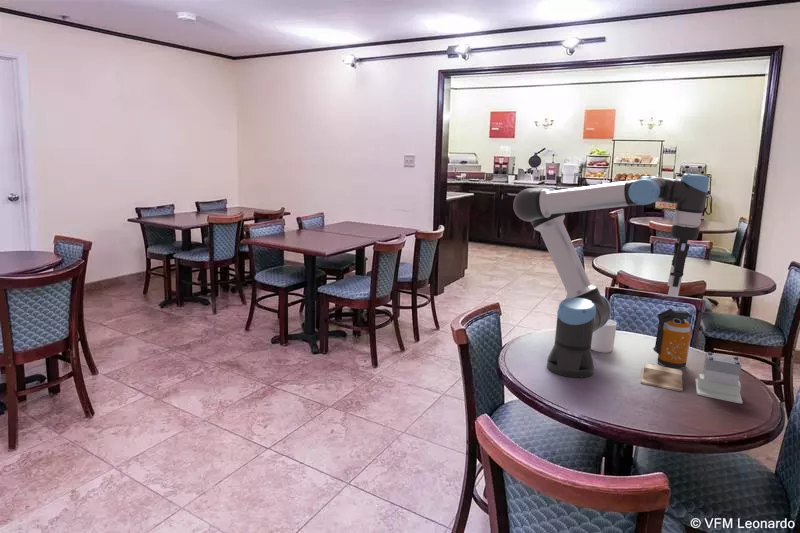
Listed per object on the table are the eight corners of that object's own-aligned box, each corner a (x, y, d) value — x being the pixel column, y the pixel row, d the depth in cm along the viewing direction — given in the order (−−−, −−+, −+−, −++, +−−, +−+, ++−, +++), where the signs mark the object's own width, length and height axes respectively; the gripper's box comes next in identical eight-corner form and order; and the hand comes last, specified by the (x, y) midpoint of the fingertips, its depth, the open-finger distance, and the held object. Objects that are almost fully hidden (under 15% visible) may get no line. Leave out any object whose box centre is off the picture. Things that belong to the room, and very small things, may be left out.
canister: (688, 371, 183) (698, 315, 179) (654, 367, 185) (662, 312, 181) (681, 361, 192) (690, 307, 187) (648, 358, 194) (656, 304, 189)
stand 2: (696, 394, 166) (699, 382, 165) (695, 380, 176) (697, 368, 176) (742, 403, 161) (744, 391, 160) (737, 388, 171) (739, 376, 171)
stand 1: (640, 383, 173) (642, 371, 172) (642, 369, 183) (643, 358, 182) (682, 391, 168) (684, 379, 167) (681, 377, 178) (683, 366, 177)
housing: (703, 380, 167) (707, 357, 165) (702, 372, 173) (706, 351, 171) (737, 386, 163) (741, 364, 161) (735, 378, 169) (739, 356, 167)
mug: (622, 348, 203) (625, 321, 200) (605, 355, 195) (608, 326, 193) (601, 341, 209) (604, 314, 207) (584, 347, 202) (587, 320, 199)
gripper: (702, 232, 153) (687, 303, 158) (697, 221, 175) (684, 284, 180) (673, 228, 156) (659, 298, 161) (671, 218, 178) (659, 280, 183)
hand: (672, 291), depth 170 cm, fingers open, 13 cm apart
